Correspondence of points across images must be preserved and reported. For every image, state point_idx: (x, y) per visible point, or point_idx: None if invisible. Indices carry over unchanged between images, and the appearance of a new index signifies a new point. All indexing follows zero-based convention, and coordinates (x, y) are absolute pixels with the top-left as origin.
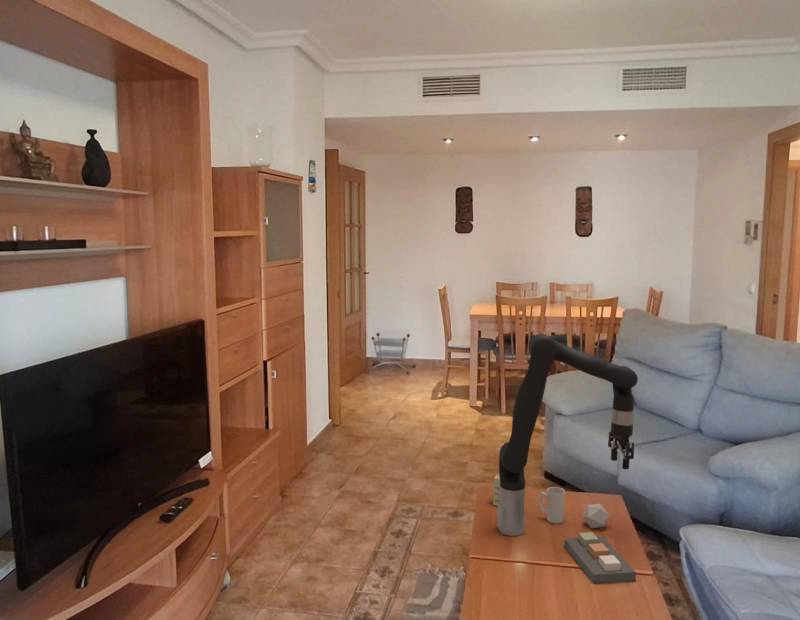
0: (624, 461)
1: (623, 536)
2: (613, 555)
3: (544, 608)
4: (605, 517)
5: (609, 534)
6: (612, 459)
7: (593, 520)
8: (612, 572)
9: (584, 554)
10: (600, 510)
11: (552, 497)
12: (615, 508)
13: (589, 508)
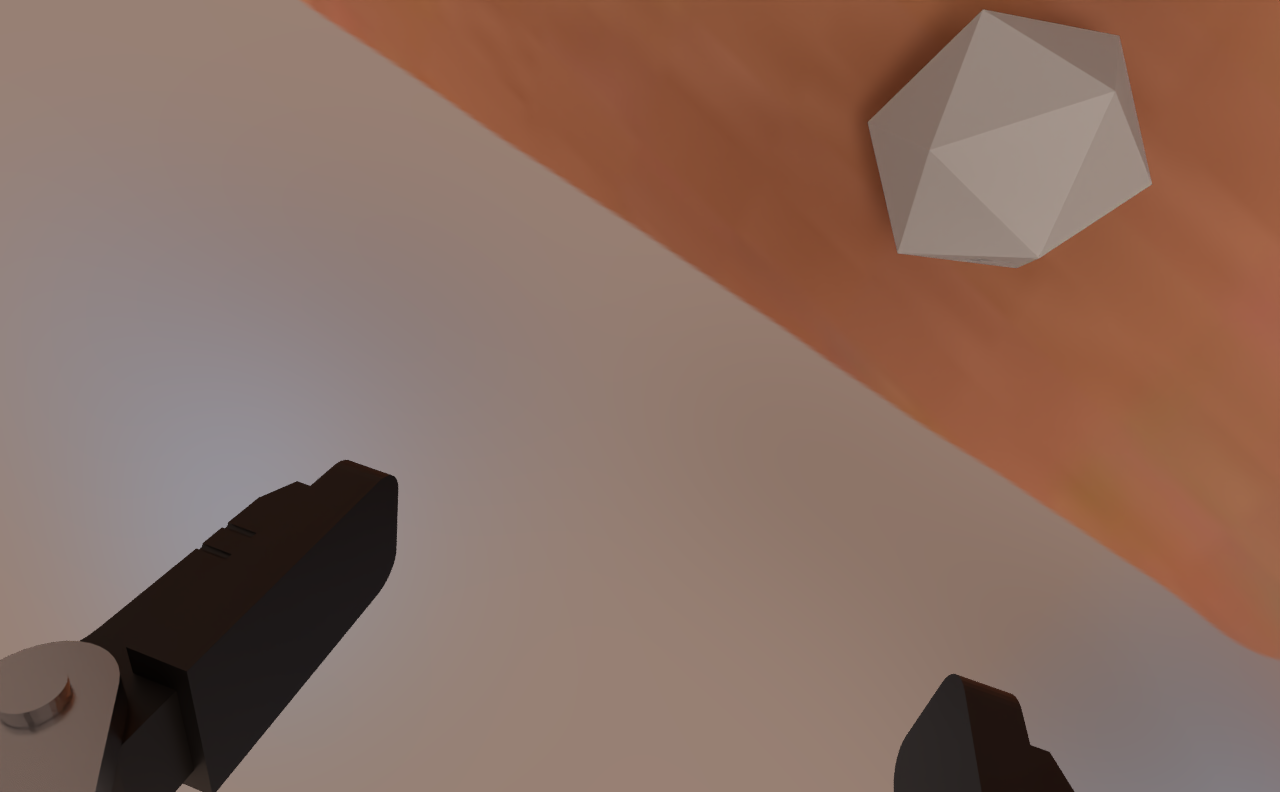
0: (197, 612)
1: (727, 222)
2: None
3: None
4: (891, 189)
5: (800, 141)
6: (951, 707)
7: (940, 53)
8: None
9: None
10: (924, 147)
11: None
12: (1116, 514)
13: (1057, 75)
